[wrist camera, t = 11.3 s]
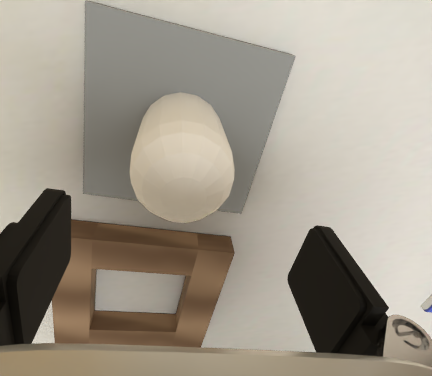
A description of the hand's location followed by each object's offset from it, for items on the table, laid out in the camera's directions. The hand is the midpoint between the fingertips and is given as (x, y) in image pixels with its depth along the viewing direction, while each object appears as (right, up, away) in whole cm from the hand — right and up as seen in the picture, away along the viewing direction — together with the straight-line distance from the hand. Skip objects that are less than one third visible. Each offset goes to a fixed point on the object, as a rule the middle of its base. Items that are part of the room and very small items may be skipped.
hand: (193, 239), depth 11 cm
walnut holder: (-6, -7, +16) cm, 19 cm away
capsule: (-1, +6, +8) cm, 10 cm away
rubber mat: (-2, +6, +8) cm, 11 cm away
